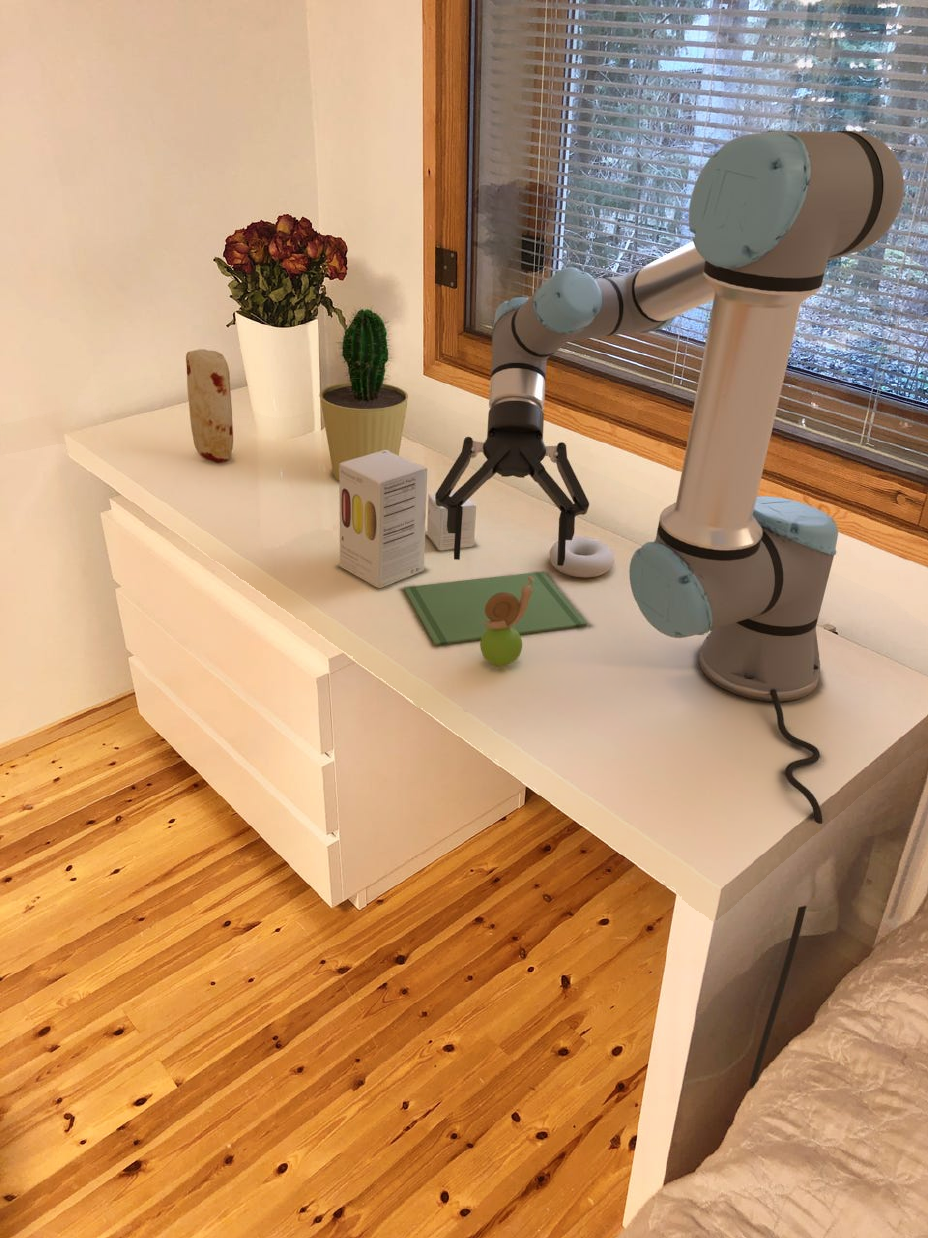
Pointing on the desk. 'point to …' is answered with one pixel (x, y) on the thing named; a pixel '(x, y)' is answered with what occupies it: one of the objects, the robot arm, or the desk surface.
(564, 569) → the donut
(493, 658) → the snail figurine
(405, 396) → the potted cactus
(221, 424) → the food model
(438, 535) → the product box
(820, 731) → the desk surface
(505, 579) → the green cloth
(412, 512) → the supplement box
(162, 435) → the desk surface
